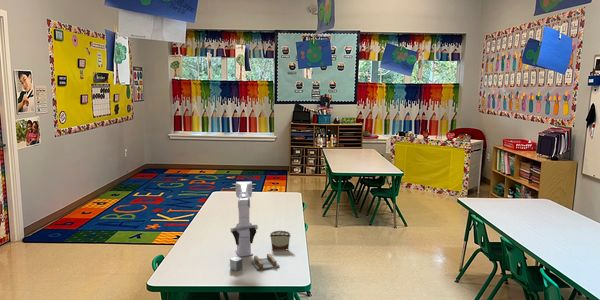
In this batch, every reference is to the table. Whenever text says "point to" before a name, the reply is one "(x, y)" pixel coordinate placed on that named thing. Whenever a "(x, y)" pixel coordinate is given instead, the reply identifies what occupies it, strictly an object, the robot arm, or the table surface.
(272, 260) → the slot seat
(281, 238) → the food container
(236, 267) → the steel block
